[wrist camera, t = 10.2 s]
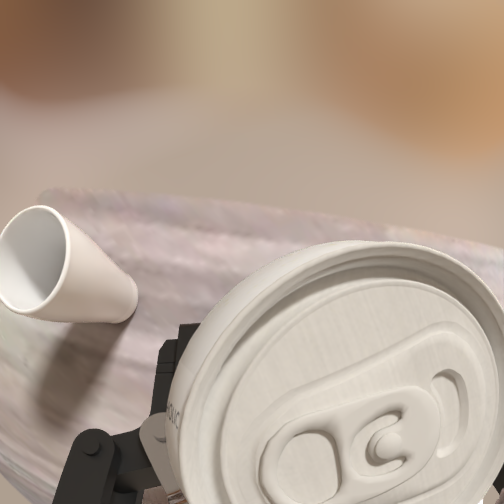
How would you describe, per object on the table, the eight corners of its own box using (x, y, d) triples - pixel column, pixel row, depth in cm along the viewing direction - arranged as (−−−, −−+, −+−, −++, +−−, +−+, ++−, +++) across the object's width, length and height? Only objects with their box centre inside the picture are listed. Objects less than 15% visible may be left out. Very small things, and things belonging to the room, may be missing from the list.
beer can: (328, 402, 17) (525, 492, 2) (230, 424, 16) (214, 620, 2) (310, 308, 18) (493, 195, 4) (210, 327, 18) (106, 255, 3)
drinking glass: (153, 271, 29) (85, 209, 15) (139, 338, 27) (54, 330, 13) (96, 259, 29) (10, 198, 15) (81, 321, 27) (-19, 298, 13)
